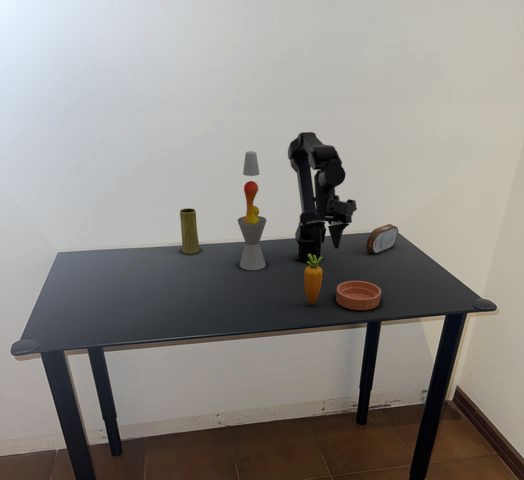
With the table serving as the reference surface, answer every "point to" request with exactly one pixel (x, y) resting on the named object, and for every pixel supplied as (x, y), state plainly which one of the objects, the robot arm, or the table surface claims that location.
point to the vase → (189, 231)
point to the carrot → (313, 279)
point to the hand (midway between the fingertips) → (328, 248)
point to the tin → (382, 238)
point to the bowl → (358, 295)
